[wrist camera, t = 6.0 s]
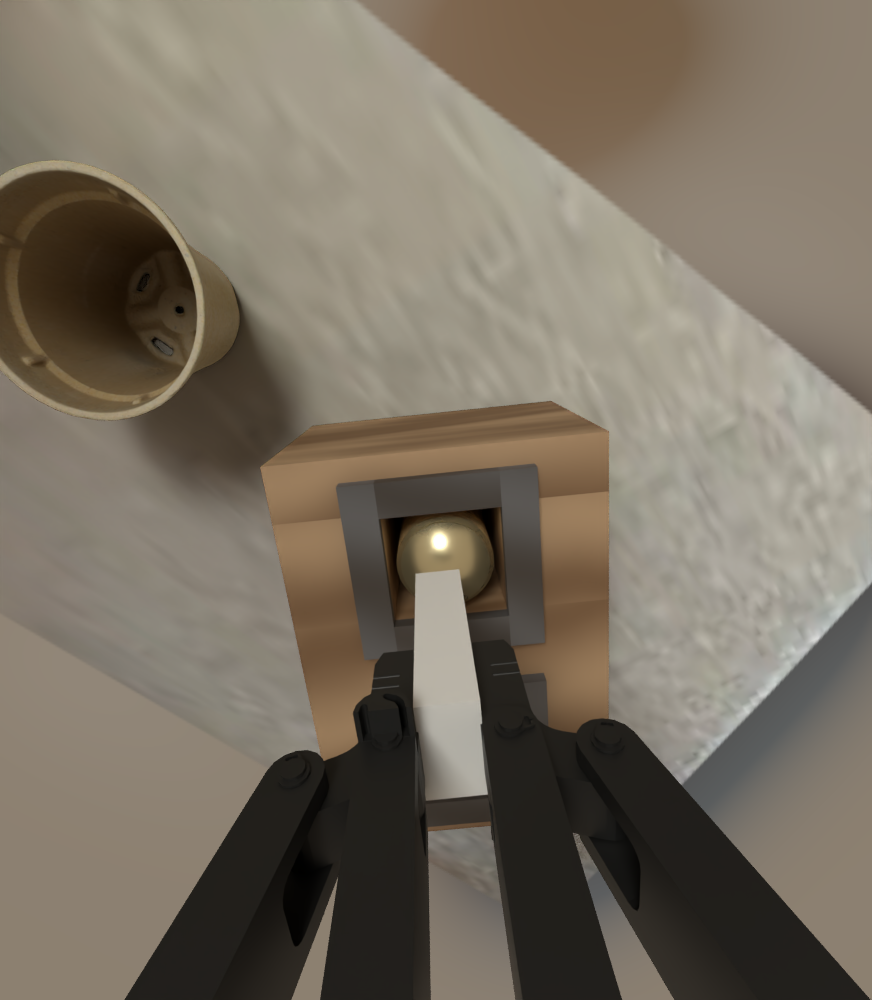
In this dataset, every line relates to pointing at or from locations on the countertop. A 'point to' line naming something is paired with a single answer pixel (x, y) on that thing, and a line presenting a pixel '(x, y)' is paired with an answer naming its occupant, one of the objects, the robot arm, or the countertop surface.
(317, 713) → the socket block
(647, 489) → the countertop surface
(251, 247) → the countertop surface
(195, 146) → the countertop surface
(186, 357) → the flower pot
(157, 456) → the countertop surface
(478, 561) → the peg
